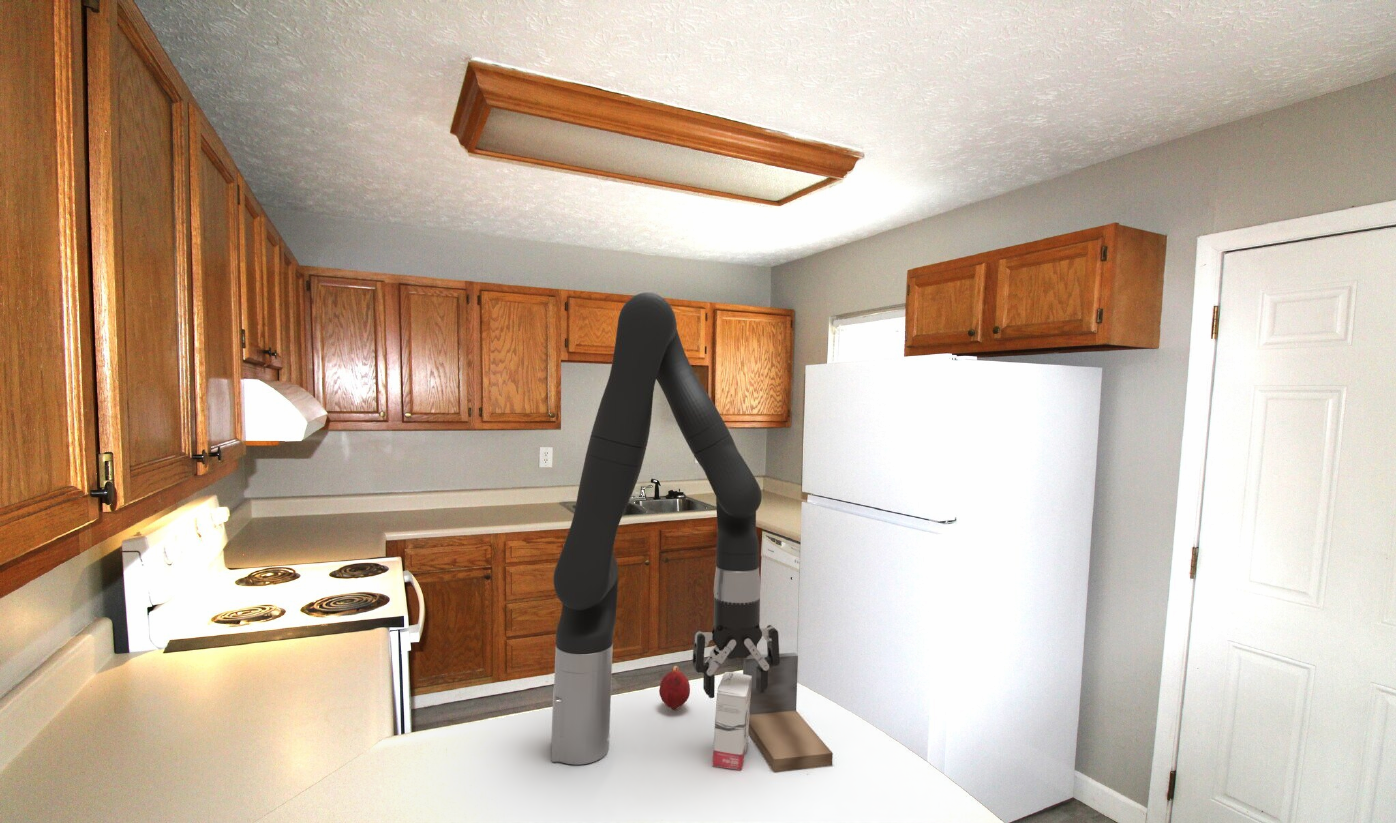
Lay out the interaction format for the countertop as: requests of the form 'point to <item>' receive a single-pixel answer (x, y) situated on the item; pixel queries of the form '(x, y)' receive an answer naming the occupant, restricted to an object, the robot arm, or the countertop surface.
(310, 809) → the countertop surface
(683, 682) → the onion
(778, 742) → the shelf board
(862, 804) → the countertop surface
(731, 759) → the ink box
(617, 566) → the robot arm
